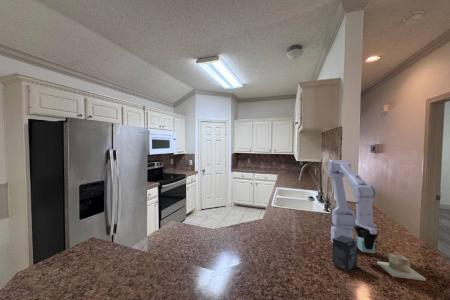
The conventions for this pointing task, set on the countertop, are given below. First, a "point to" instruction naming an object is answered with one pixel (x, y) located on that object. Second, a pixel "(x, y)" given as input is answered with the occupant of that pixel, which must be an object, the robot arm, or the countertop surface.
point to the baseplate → (401, 274)
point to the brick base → (399, 263)
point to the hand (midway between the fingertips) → (365, 246)
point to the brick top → (362, 245)
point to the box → (344, 253)
